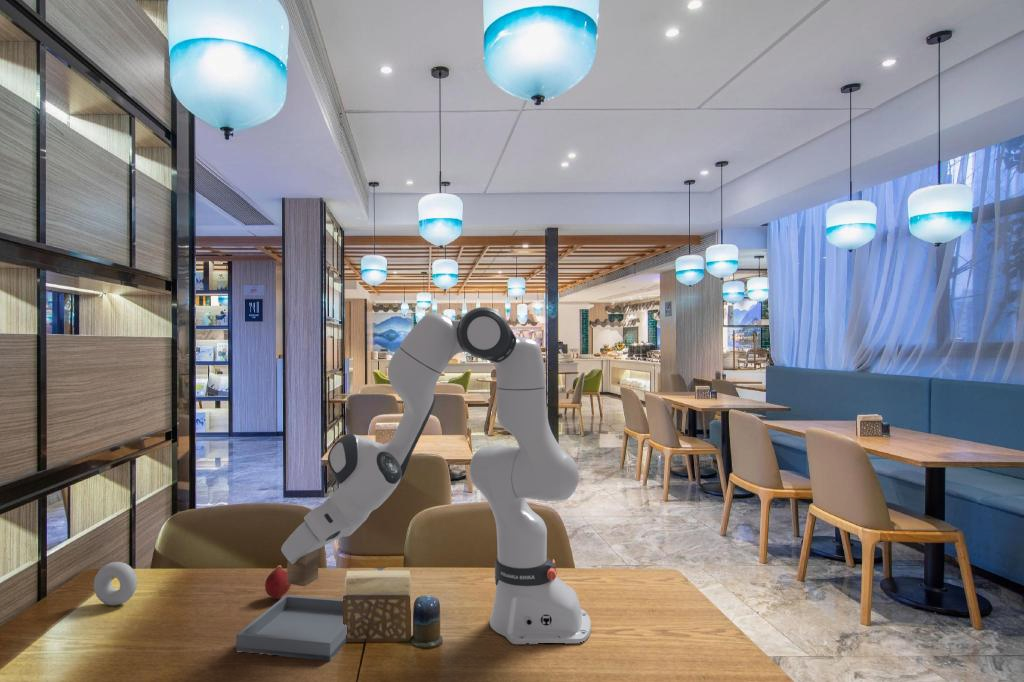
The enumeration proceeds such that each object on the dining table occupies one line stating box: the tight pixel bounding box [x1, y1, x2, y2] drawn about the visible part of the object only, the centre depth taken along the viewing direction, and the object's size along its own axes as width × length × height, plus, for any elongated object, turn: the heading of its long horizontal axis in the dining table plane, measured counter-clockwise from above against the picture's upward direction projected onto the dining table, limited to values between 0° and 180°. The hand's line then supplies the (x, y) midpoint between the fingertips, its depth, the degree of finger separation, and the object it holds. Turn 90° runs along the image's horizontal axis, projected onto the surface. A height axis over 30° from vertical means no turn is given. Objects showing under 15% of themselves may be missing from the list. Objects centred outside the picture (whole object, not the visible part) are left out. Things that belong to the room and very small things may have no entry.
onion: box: [264, 564, 292, 600], centre depth 134 cm, size 6×6×8 cm
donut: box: [93, 561, 138, 607], centre depth 130 cm, size 10×4×10 cm, turn 85°
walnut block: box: [286, 534, 320, 587], centre depth 119 cm, size 4×4×10 cm
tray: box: [235, 594, 347, 662], centre depth 118 cm, size 20×18×4 cm
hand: (301, 555), depth 119 cm, fingers closed on walnut block, 4 cm apart
